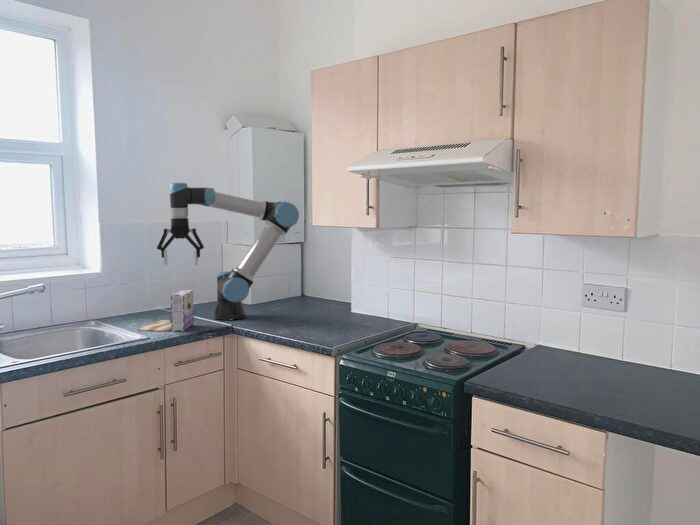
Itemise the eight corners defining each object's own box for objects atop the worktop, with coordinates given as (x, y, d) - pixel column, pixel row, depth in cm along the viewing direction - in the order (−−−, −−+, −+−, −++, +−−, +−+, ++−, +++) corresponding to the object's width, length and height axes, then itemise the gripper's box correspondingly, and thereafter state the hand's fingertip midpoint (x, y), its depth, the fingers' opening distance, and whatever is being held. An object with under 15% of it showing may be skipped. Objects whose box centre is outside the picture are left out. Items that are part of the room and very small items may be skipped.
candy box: (181, 324, 258) (180, 289, 257) (194, 325, 258) (193, 289, 256) (171, 331, 244) (170, 294, 243) (184, 331, 244) (183, 294, 243)
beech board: (182, 324, 260) (182, 322, 260) (167, 331, 244) (167, 330, 244) (153, 323, 261) (153, 321, 261) (137, 330, 245) (137, 329, 245)
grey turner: (192, 321, 265) (192, 319, 265) (189, 323, 261) (189, 321, 261) (160, 320, 267) (160, 318, 267) (157, 322, 263) (156, 320, 263)
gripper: (209, 217, 254) (210, 263, 256) (153, 217, 252) (155, 264, 254) (206, 217, 247) (208, 265, 249) (148, 218, 245) (150, 266, 247)
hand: (181, 265), depth 252 cm, fingers open, 13 cm apart
